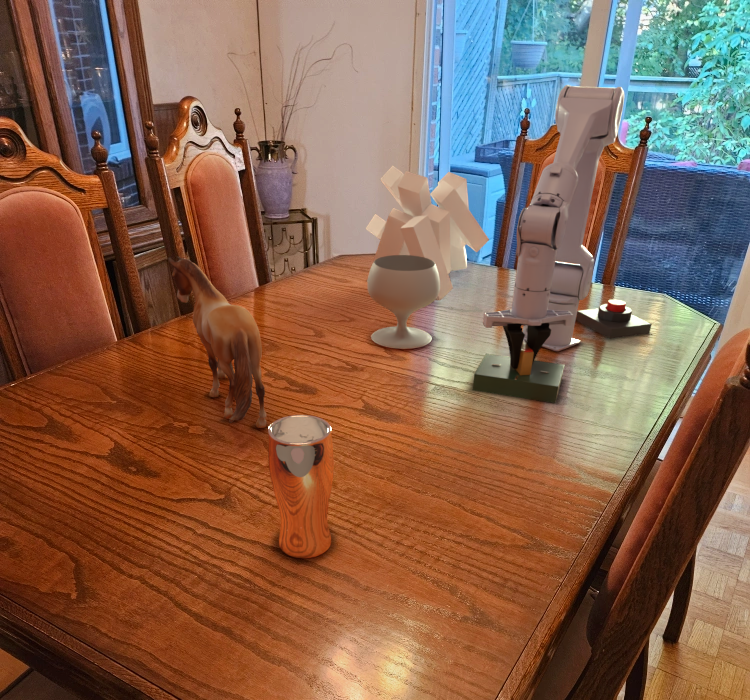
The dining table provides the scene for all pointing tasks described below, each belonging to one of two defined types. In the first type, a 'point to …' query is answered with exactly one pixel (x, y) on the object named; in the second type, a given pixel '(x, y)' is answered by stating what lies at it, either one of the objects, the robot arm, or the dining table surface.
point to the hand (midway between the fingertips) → (520, 366)
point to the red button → (616, 305)
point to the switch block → (613, 322)
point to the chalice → (403, 296)
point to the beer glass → (302, 482)
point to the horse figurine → (224, 339)
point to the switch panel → (518, 379)
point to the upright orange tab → (525, 360)
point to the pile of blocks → (428, 223)
